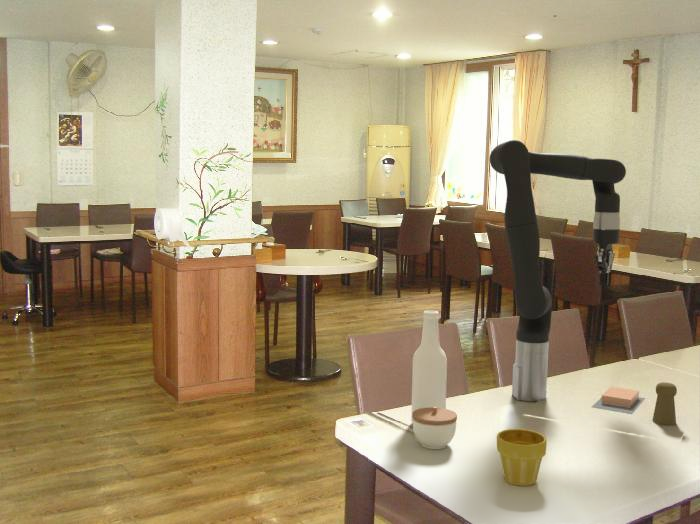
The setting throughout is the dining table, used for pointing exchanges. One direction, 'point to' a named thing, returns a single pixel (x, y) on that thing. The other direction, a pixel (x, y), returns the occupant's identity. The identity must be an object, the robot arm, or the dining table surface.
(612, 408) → the mat
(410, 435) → the dining table surface
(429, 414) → the lidded jar
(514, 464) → the plant pot
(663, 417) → the pepper mill
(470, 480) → the dining table surface
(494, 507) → the dining table surface
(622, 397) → the tile
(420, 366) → the alcohol
